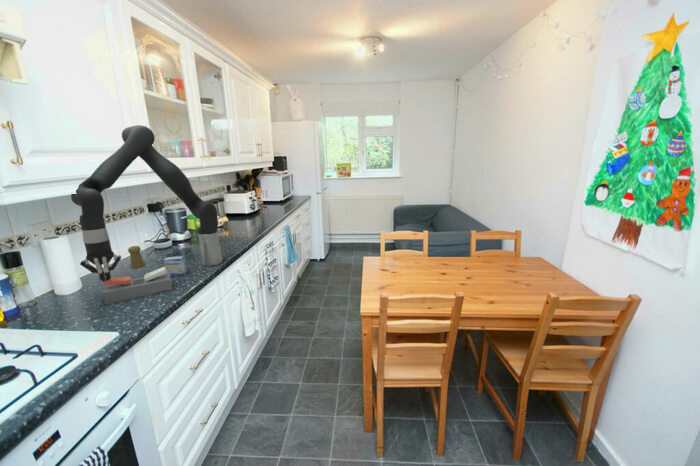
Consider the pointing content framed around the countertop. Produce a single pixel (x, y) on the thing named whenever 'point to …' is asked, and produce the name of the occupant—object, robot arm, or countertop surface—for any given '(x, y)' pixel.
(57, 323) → the countertop surface
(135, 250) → the cork
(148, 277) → the white rocker
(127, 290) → the rocker switch panel
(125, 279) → the block
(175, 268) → the medicine box
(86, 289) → the countertop surface
